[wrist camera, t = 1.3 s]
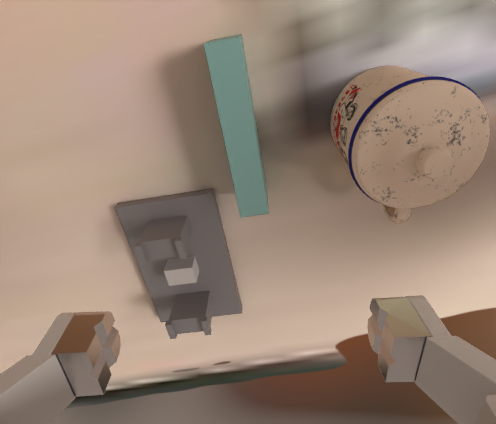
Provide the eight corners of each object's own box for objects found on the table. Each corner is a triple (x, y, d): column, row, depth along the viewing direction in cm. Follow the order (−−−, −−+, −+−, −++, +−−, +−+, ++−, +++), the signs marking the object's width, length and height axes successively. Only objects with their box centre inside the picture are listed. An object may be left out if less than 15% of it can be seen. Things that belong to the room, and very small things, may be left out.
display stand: (213, 188, 35) (206, 216, 30) (242, 307, 42) (240, 344, 37) (118, 203, 36) (96, 232, 31) (163, 316, 43) (151, 354, 38)
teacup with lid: (324, 71, 29) (360, 99, 19) (437, 53, 28) (538, 72, 18) (329, 198, 35) (360, 271, 25) (423, 186, 34) (495, 257, 24)
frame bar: (241, 34, 28) (239, 36, 24) (267, 189, 35) (268, 213, 30) (211, 40, 28) (203, 43, 24) (242, 192, 35) (240, 217, 31)
